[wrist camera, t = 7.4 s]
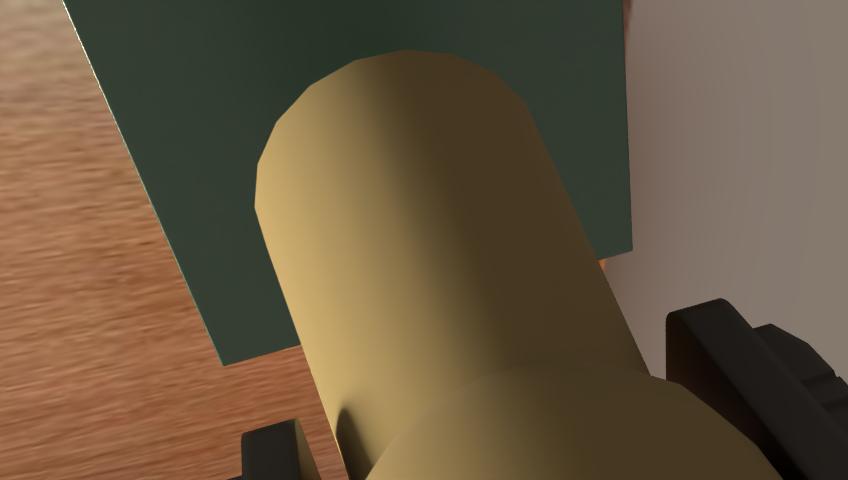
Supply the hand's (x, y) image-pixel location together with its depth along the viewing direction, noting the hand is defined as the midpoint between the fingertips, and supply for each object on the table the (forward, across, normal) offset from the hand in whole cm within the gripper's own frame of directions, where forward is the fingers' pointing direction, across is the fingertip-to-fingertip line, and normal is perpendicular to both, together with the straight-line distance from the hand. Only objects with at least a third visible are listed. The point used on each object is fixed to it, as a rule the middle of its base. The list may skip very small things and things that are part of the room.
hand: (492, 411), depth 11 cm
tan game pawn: (+7, 0, 0) cm, 7 cm away
